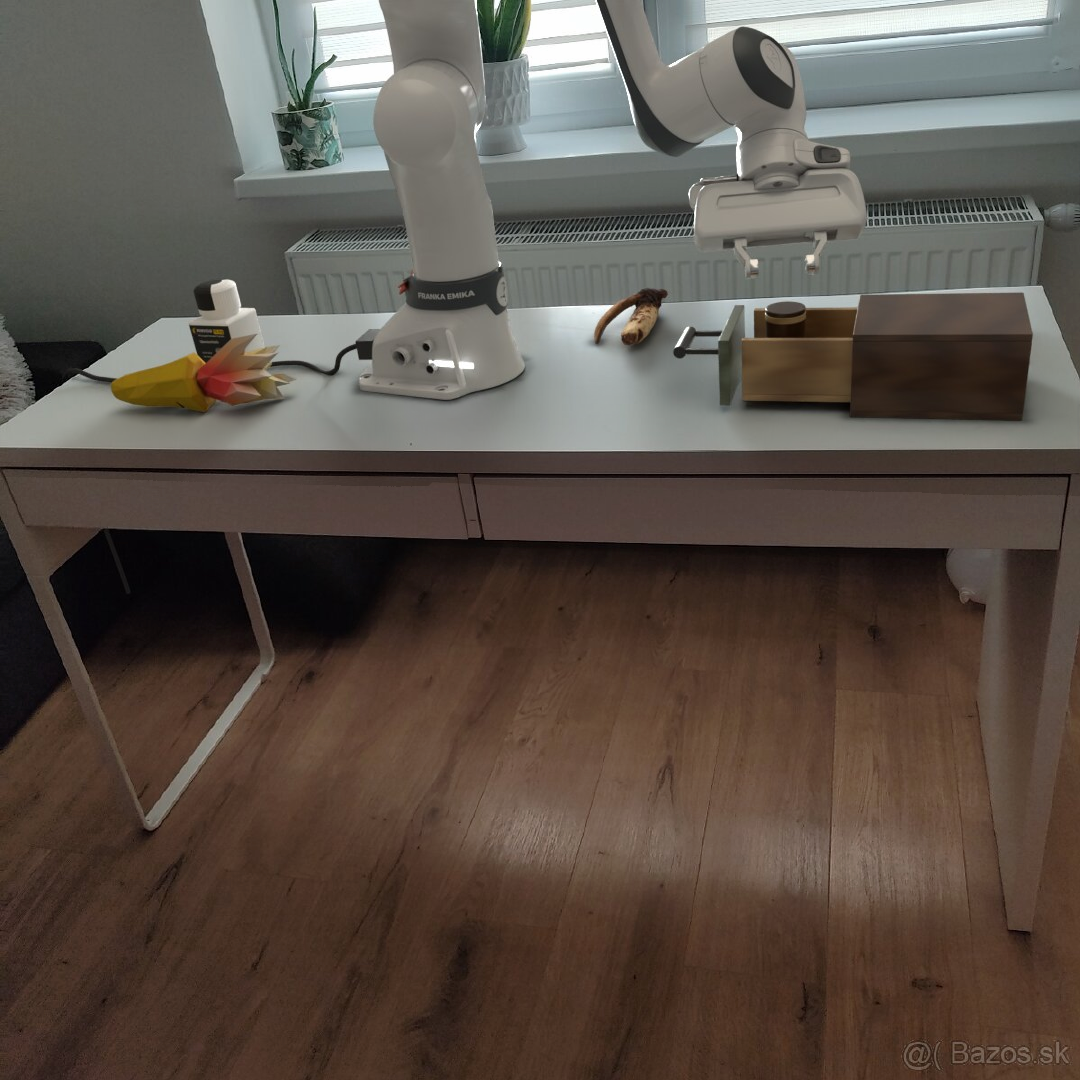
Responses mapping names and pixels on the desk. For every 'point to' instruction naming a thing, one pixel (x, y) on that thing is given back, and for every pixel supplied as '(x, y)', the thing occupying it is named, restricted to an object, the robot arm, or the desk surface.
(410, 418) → the desk surface
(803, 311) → the banded brown cylinder
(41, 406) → the desk surface
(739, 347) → the drawer
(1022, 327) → the cabinet
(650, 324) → the bone fish hook
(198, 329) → the medicine bottle
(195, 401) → the torch
